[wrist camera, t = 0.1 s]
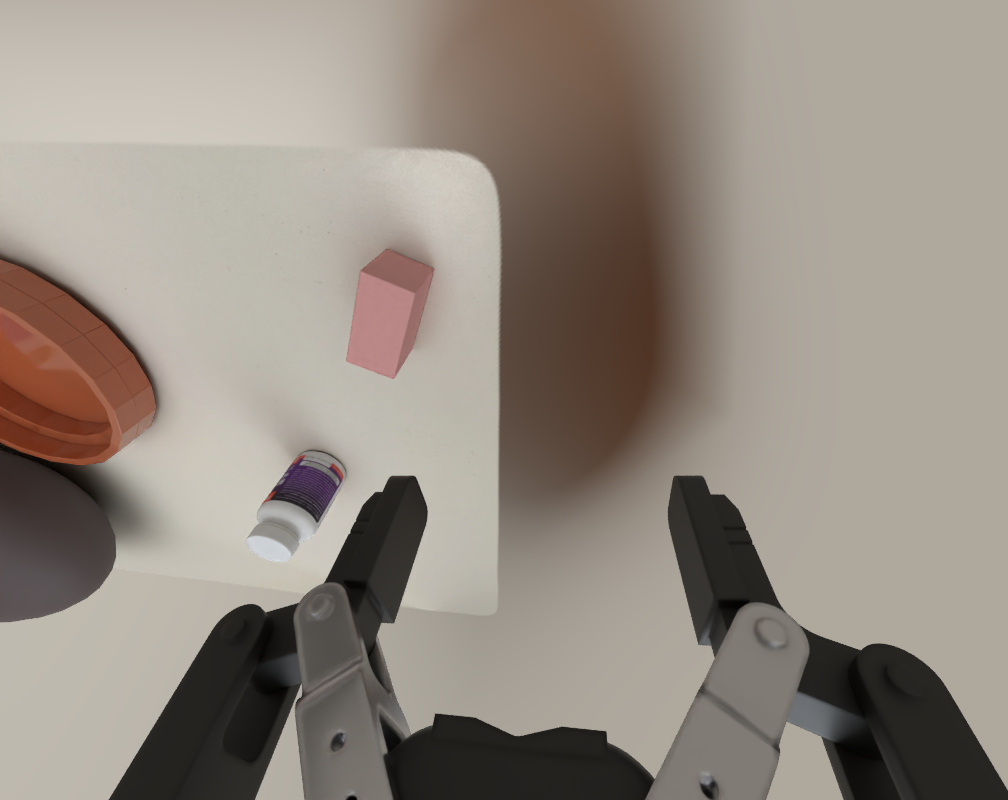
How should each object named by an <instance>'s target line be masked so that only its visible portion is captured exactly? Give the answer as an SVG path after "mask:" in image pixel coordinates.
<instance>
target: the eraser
mask: <svg viewBox="0 0 1008 800" xmlns="http://www.w3.org/2000/svg"><path fill="white" fill-rule="evenodd" d="M433 272H434V269H433V268H431V267H429V266H426V265H424V264H421V263H419V262H417V261H414V260H412V259H409V258H407V257H405V256H402V255H400V254H397V253H395V252H393V251H390V250H388V249H386V250H385V251H383V252H382V253H381V254H380V255H379V256H378V257H376V258H375V259H374V260H373V261H372V262H370V263H369V264H368V265H367V266H366V267H364V268H363V269H362V270H361V271H360V276H359V282H358V288H357V295H356V301H355V308H354V314H353V321H352V327H351V333H350V340H349V346H348V353H347V359H346V361H347V362H349V363H352V364H354V365H357V366H360V367H362V368H365V369H368V370H370V371H373V372H376V373H378V374H381V375H384V376H386V377H389V378H392V379H394V378H395V376H396V375H397V373H398V371H399V370H400V368H401V366H402V365H403V363H404V362H405V360H406V358H407V357H408V355H409V353H410V352H411V350H412V348H413V345H414V341H415V338H416V334H417V330H418V327H419V323H420V320H421V316H422V312H423V309H424V305H425V301H426V298H427V294H428V290H429V287H430V283H431V280H432V276H433Z"/></svg>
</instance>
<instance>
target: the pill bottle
mask: <svg viewBox="0 0 1008 800" xmlns="http://www.w3.org/2000/svg"><path fill="white" fill-rule="evenodd" d="M345 478H346V473H345V470H344V468H343V466H342V465H341V464H340V463H339V462H338V461H337V460H336V459H335V458H333V457H331V456H329V455H327V454H325V453H321V452H316V451H308V452H304V453H302V454H300V455H299V456H298V457H297V458H296V459H295V460H294V462H293V463H292V464H291V466H290V467H289V468H288V470H287V471H286V472H285V474H284V475H283V477H282V478H281V479H280V481H279V482H278V483H277V485H276V486H275V487H274V489H273V490H272V491H271V493H270V494H269V495H268V497H267V498H266V499H265V501H264V502H263V503H262V505H261V506H260V508H259V509H258V512H257V520H258V523H259V524H258V525H257V526H256V527H255V528H254V529H253V530H252V532H251V533H250V535H249V536H248V538H247V539H246V545H247V547H248V548H249V549H250V550H251V551H252V552H253V553H254V554H256V555H258V556H260V557H262V558H264V559H267V560H270V561H274V562H286V561H288V560H290V559H291V557H292V556H293V554H294V553H295V551H296V550H297V548H298V546H299V542H304V541H306V540H308V539H310V538H311V537H312V536H313V535H314V534H315V532H316V531H317V529H318V527H319V526H320V524H321V522H322V520H323V518H324V517H325V515H326V513H327V511H328V510H329V508H330V506H331V504H332V503H333V501H334V499H335V497H336V496H337V494H338V492H339V491H340V489H341V487H342V485H343V483H344V481H345Z"/></svg>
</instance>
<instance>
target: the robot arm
mask: <svg viewBox="0 0 1008 800" xmlns="http://www.w3.org/2000/svg"><path fill="white" fill-rule="evenodd" d="M427 513H428V512H427V505H426V502H425V500H424V497H423V494H422V492H421V489H420V486H419V484H418V481H417V479H416V477H415V476H391V477H390V478H389V479H388V481H387V483H386V485H385V488H384V490H383V492H375V493H374V494H373V495H372V496H371V497H370V498H369V499H368V500H367V501H366V503H365V504H364V505H363V506H362V508H361V511H360V513H359V515H358V517H357V519H356V522H355V523H354V525H353V527H352V529H351V533H350V534H349V535H348V537H347V539H346V541H345V543H344V545H343V547H342V549H341V551H340V553H339V555H338V557H337V559H336V561H335V563H334V565H333V567H332V569H331V571H330V573H329V575H328V577H327V579H326V581H325V582H324V584H321V585H319V586H317V587H315V588H314V589H312V590H311V591H309V592H308V593H307V594H306V595H305V596H304V597H303V598H302V600H301V601H300V602H299V603H297V604H294V605H290V606H287V607H284V608H280V609H276V610H273V611H270V612H265V611H264V610H262V608H261V607H259V606H258V605H255V604H247V605H243V606H240V607H238V608H236V609H234V610H232V611H231V612H229V613H228V614H227V615H225V616H224V617H223V618H222V619H221V620H220V621H219V622H218V623H217V624H216V626H215V627H214V629H213V630H212V632H211V633H210V635H209V636H208V638H207V640H206V641H205V643H204V645H203V646H202V648H201V650H200V651H199V653H198V655H197V656H196V658H195V660H194V661H193V663H192V664H191V666H190V668H189V669H188V671H187V673H186V674H185V676H184V677H183V679H182V681H181V682H180V684H179V686H178V687H177V689H176V690H175V692H174V694H173V695H172V697H171V699H170V700H169V702H168V704H167V705H166V707H165V709H164V710H163V712H162V714H161V715H160V717H159V719H158V720H157V722H156V723H155V725H154V727H153V728H152V730H151V731H150V733H149V735H148V736H147V738H146V740H145V741H144V743H143V745H142V746H141V748H140V750H139V751H138V753H137V754H136V756H135V758H134V759H133V761H132V763H131V764H130V766H129V768H128V769H127V771H126V773H125V774H124V776H123V777H122V779H121V781H120V782H119V784H118V786H117V787H116V789H115V790H114V792H113V794H112V795H111V797H110V799H109V800H255V798H256V795H257V793H258V790H259V788H260V785H261V783H262V780H263V778H264V775H265V773H266V770H267V767H268V765H269V763H270V760H271V758H272V755H273V753H274V750H275V748H276V745H277V743H278V740H279V738H280V735H281V733H282V730H283V728H284V725H285V723H286V720H287V718H288V715H289V713H290V710H291V708H292V705H293V703H294V700H295V698H296V695H297V693H298V690H299V688H300V685H301V683H302V697H301V698H299V699H298V700H297V702H296V705H295V706H296V707H295V717H296V726H297V735H298V745H299V753H300V763H301V772H302V781H303V790H304V798H305V800H766V798H767V795H768V792H769V789H770V786H771V783H772V780H773V777H774V774H775V771H776V768H777V764H778V760H779V756H780V748H779V743H780V739H781V736H782V733H783V730H784V727H785V724H786V721H787V722H789V723H791V724H794V725H796V726H799V727H801V728H803V729H805V730H808V731H810V732H812V733H814V734H817V735H819V736H821V737H822V739H823V742H824V746H825V748H826V751H827V754H828V757H829V759H830V762H831V765H832V768H833V771H834V774H835V776H836V779H837V782H838V785H839V788H840V791H841V793H842V796H843V799H844V800H1008V790H1007V789H1006V787H1005V785H1004V783H1003V782H1002V780H1001V778H1000V777H999V775H998V773H997V772H996V770H995V769H994V766H993V765H992V763H991V761H990V760H989V758H988V757H987V755H986V753H985V751H984V750H983V748H982V746H981V745H980V743H979V741H978V740H977V738H976V736H975V735H974V733H973V731H972V730H971V728H970V727H969V725H968V723H967V721H966V720H965V718H964V717H963V715H962V713H961V711H960V709H959V708H958V706H957V704H956V703H955V701H954V699H953V698H952V696H951V694H950V693H949V691H948V690H947V688H946V686H945V685H944V683H943V682H942V680H941V679H940V678H939V677H938V676H937V674H936V673H935V672H934V671H933V670H932V669H931V668H930V667H929V666H927V665H926V664H925V663H924V662H922V661H921V660H919V659H918V658H917V657H915V656H914V655H912V654H910V653H908V652H906V651H905V650H902V649H900V648H898V647H895V646H891V645H887V644H871V645H868V646H866V647H865V648H863V649H862V650H858V649H855V648H852V647H849V646H846V645H843V644H841V643H838V642H835V641H832V640H829V639H826V638H823V637H821V636H818V635H816V634H814V633H812V632H810V631H808V630H806V629H805V628H803V627H802V626H800V625H799V624H798V623H797V622H796V621H795V620H794V619H793V618H791V616H789V615H788V614H787V613H786V612H785V611H784V609H783V608H782V607H781V605H780V604H779V602H778V600H777V598H776V595H775V593H774V591H773V588H772V586H771V584H770V581H769V579H768V577H767V575H766V572H765V570H764V568H763V565H762V563H761V561H760V558H759V556H758V554H757V551H756V549H755V547H754V545H753V544H752V540H751V537H750V535H749V533H748V531H747V530H746V526H745V523H744V521H743V519H742V516H741V514H740V512H739V510H738V509H737V508H736V506H735V505H734V504H733V503H732V502H731V501H730V500H729V499H728V498H727V497H726V496H725V495H711V494H710V492H709V489H708V486H707V484H706V481H705V479H704V477H702V476H674V478H673V483H672V489H671V494H670V500H669V506H668V521H669V529H670V533H671V536H672V541H673V545H674V549H675V553H676V557H677V561H678V565H679V569H680V572H681V576H682V581H683V585H684V589H685V593H686V597H687V601H688V605H689V609H690V613H691V617H692V621H693V625H694V629H695V633H696V637H697V641H698V644H699V645H710V646H712V649H713V653H714V657H715V659H714V661H713V663H712V665H711V667H710V669H709V672H708V674H707V676H706V678H705V680H704V682H703V684H702V686H701V687H700V689H699V691H698V693H697V695H696V697H695V699H694V701H693V703H692V705H691V707H690V709H689V711H688V713H687V715H686V717H685V719H684V721H683V723H682V725H681V727H680V729H679V731H678V734H677V735H676V737H675V740H674V742H673V744H672V746H671V748H670V750H669V752H668V754H667V756H666V758H665V760H664V762H663V764H662V766H661V768H660V770H659V772H658V774H657V776H656V778H655V779H654V778H653V777H652V775H651V774H650V773H649V772H648V771H647V770H646V769H645V768H644V767H643V766H642V765H641V764H640V763H639V762H638V761H636V760H635V759H634V758H633V757H632V756H630V755H629V754H628V753H626V752H624V751H623V750H621V749H620V748H618V747H616V746H614V745H612V744H609V743H607V735H606V734H607V733H606V731H597V730H588V729H578V728H569V727H559V728H555V729H550V730H546V731H541V732H537V733H532V734H528V735H524V736H513V735H511V734H509V733H507V732H505V731H502V730H500V729H498V728H496V727H494V726H492V725H490V724H487V723H485V722H483V721H481V720H479V719H477V718H473V717H464V716H454V715H444V714H435V718H434V723H433V725H432V726H428V727H426V728H424V729H421V730H419V731H417V732H415V733H414V734H412V735H411V733H410V730H409V727H408V724H407V721H406V719H405V716H404V714H403V712H402V710H401V708H400V706H399V703H398V701H397V698H396V695H395V692H394V689H393V686H392V682H391V679H390V676H389V672H388V669H387V666H386V662H385V659H384V656H383V652H382V649H381V646H380V642H379V639H378V637H377V633H378V630H379V627H380V624H381V623H394V622H395V619H396V616H397V613H398V610H399V607H400V603H401V600H402V597H403V594H404V591H405V588H406V585H407V582H408V579H409V576H410V573H411V569H412V566H413V563H414V560H415V557H416V554H417V551H418V548H419V545H420V542H421V538H422V535H423V532H424V529H425V526H426V522H427Z"/></svg>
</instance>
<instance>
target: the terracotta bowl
mask: <svg viewBox="0 0 1008 800" xmlns="http://www.w3.org/2000/svg"><path fill="white" fill-rule="evenodd" d="M155 411H156V403H155V399H154V394H153V390H152V386H151V384H150V382H149V380H148V378H147V377H146V375H145V373H144V372H143V370H142V368H141V367H140V365H139V363H138V362H137V360H136V358H135V357H134V355H133V354H132V353H131V352H130V351H129V349H128V348H127V347H126V346H125V345H124V344H123V343H122V342H121V341H120V339H119V338H118V337H117V336H116V335H115V334H114V333H113V332H112V331H111V330H110V328H109V327H108V326H107V325H106V324H104V323H103V322H102V321H101V320H100V319H98V318H97V317H96V316H95V315H93V314H92V313H91V312H90V311H88V310H87V309H86V308H85V307H83V306H82V305H81V304H80V303H78V302H77V301H76V300H75V299H73V298H72V297H71V296H70V295H68V294H67V293H66V292H64V291H62V290H61V289H59V288H57V287H55V286H54V285H52V284H50V283H49V282H47V281H45V280H43V279H42V278H40V277H38V276H36V275H35V274H33V273H31V272H30V271H28V270H26V269H24V268H22V267H19V266H17V265H14V264H11V263H9V262H6V261H3V260H0V443H2V444H5V445H7V446H9V447H11V448H13V449H16V450H18V451H20V452H23V453H26V454H30V455H33V456H36V457H39V458H43V459H46V460H49V461H53V462H60V463H67V464H75V465H87V464H95V463H102V462H105V461H106V460H108V459H109V458H110V457H112V456H113V455H114V454H116V453H117V452H118V451H120V450H121V449H122V448H124V447H125V446H126V445H127V444H129V443H130V442H131V441H132V440H134V439H135V438H136V437H138V436H139V435H140V434H141V433H143V432H144V431H145V430H146V429H148V428H149V427H150V426H151V425H152V422H153V418H154V415H155Z"/></svg>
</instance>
